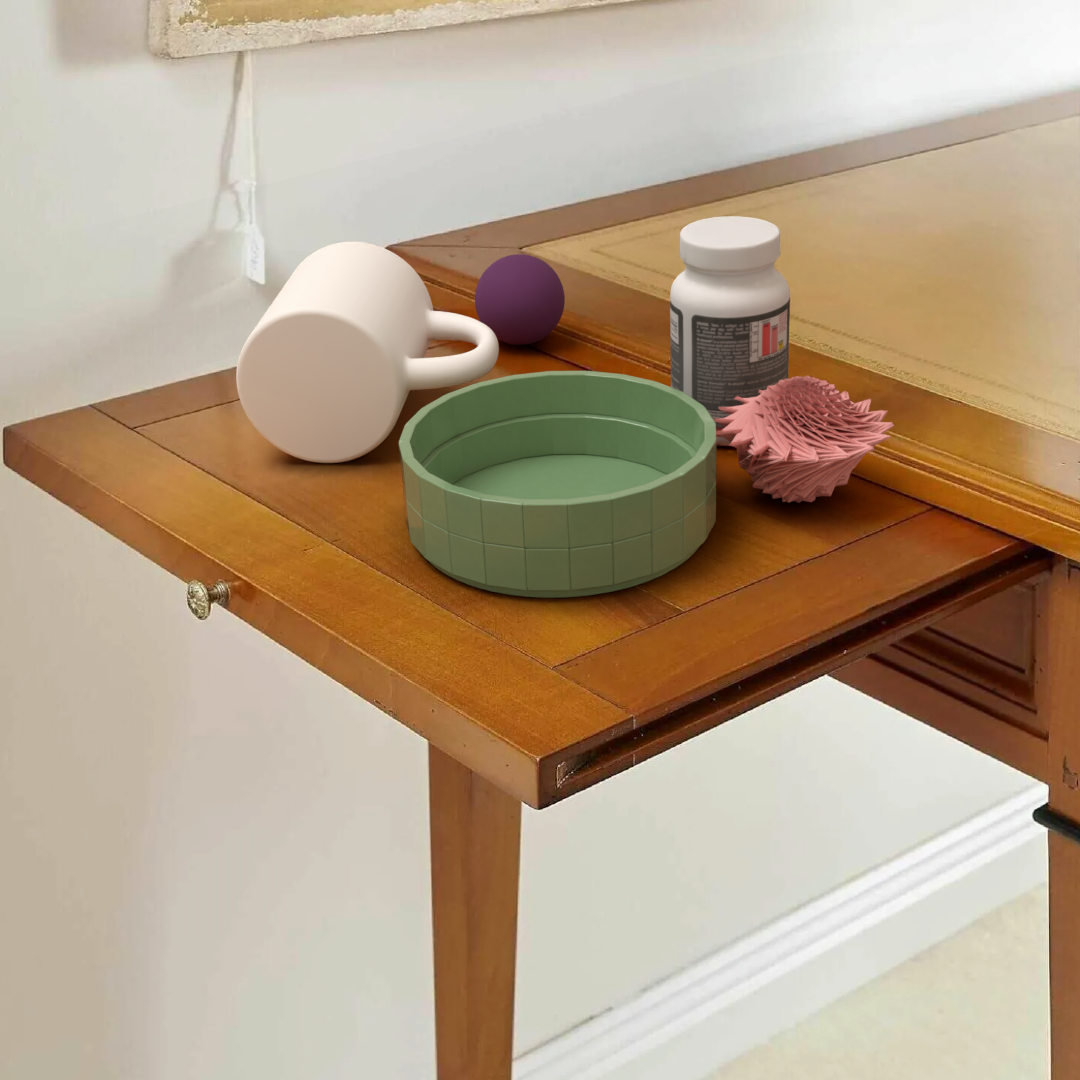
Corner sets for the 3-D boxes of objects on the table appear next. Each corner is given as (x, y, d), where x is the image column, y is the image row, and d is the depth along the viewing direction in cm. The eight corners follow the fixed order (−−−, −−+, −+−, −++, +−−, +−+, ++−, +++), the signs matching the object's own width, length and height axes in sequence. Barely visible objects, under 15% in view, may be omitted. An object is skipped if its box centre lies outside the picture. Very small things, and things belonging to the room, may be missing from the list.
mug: (246, 464, 79) (224, 309, 75) (294, 383, 88) (276, 240, 84) (491, 465, 78) (480, 307, 74) (514, 383, 87) (506, 238, 83)
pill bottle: (810, 422, 81) (817, 227, 76) (736, 460, 77) (739, 259, 72) (721, 392, 84) (722, 205, 80) (647, 428, 81) (644, 234, 76)
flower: (789, 440, 79) (793, 333, 76) (925, 492, 73) (934, 378, 71) (674, 495, 74) (674, 382, 72) (810, 554, 69) (815, 435, 66)
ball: (557, 321, 94) (553, 238, 92) (574, 353, 90) (571, 266, 88) (471, 331, 94) (466, 247, 91) (484, 363, 89) (479, 276, 87)
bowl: (672, 443, 79) (671, 356, 77) (753, 578, 67) (755, 481, 65) (393, 476, 77) (385, 388, 75) (427, 621, 66) (418, 522, 63)
